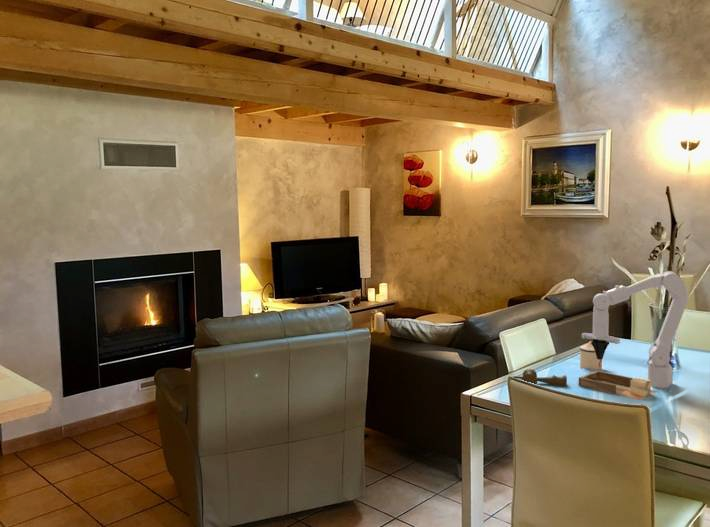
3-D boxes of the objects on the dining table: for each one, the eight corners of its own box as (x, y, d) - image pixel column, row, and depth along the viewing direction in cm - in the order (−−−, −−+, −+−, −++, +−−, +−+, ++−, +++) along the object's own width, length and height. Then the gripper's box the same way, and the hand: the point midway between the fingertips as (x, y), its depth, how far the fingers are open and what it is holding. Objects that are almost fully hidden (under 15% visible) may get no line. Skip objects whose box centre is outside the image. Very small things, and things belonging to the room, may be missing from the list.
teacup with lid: (604, 372, 244) (605, 344, 243) (581, 371, 246) (581, 343, 245) (599, 364, 255) (599, 338, 254) (577, 363, 258) (577, 337, 256)
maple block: (636, 390, 216) (636, 377, 216) (650, 393, 212) (650, 380, 212) (630, 393, 213) (630, 380, 213) (644, 396, 209) (644, 383, 209)
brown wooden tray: (597, 380, 233) (597, 370, 232) (657, 393, 215) (657, 383, 215) (578, 387, 224) (578, 377, 223) (639, 402, 206) (639, 391, 206)
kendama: (566, 393, 220) (511, 387, 226) (566, 386, 229) (513, 381, 235) (567, 377, 219) (512, 372, 225) (566, 371, 228) (513, 366, 235)
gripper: (577, 323, 231) (577, 357, 232) (613, 329, 220) (613, 364, 221) (587, 321, 235) (586, 354, 237) (622, 326, 224) (622, 361, 225)
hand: (599, 359), depth 229 cm, fingers closed
